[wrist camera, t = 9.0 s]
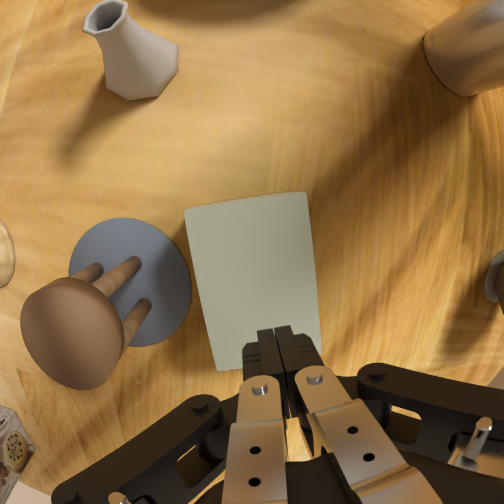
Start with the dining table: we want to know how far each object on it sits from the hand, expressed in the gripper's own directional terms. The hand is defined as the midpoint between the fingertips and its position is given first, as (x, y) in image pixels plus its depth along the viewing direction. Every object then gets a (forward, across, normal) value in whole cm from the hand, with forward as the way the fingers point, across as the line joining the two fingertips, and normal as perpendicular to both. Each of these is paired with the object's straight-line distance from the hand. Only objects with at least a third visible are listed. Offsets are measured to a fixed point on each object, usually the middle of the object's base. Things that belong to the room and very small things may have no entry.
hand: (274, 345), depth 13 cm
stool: (+12, +8, 0) cm, 15 cm away
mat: (+14, +12, 0) cm, 18 cm away
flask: (+14, +7, -20) cm, 26 cm away
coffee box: (+13, +43, +21) cm, 49 cm away
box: (+14, 0, 0) cm, 14 cm away
